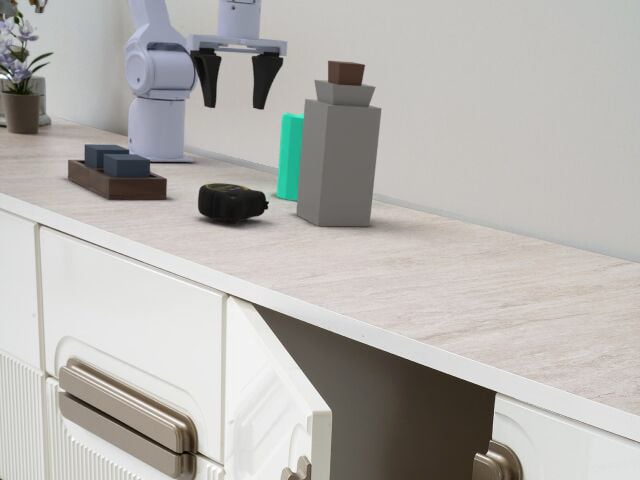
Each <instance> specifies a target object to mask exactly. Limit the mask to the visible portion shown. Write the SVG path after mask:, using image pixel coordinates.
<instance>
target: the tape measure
mask: <svg viewBox="0 0 640 480" xmlns="http://www.w3.org/2000/svg"><path fill="white" fill-rule="evenodd" d="M269 203H270V201H269V200H267V197H266V194H265V192H263V191H262V190H261V191H260V190H254V189H251V188H249V187H246V186H244V185H239V184H235V183H234V184H232V183H222V182H213V183H206V184H203V185H201V186H200V187H199V190H198V196H197V209H198V212H199V213H200V214H201V215H202V216H204V217H207V218H209V219H210V220H224V221H230V222H232V223H235V224H238V223H240V222H241V221H242V220H247V219H251V218H256V217H257V218H258V217H260V216H262V215H263V214H264V213H265V210H266V211H268V210H269Z"/></svg>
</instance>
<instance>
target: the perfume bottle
mask: <svg viewBox="0 0 640 480" xmlns="http://www.w3.org/2000/svg"><path fill="white" fill-rule="evenodd" d="M365 68H366V64H364V63H358V62H353V61H341V60H327V80H325V79H324V80H323V79H313V81H314V86H315V94H316V98H317V99H311V98H310V99H309V98H305V99H304V107H303V114H304V120H303V133H302V146H301V159H300V173H299V186H298V199H297V201H296V212H295V213H296V214H295V215H296V216H298V217H300V218H302V219H303V220H306V221H307V222H308V223H311V224H313V225H315V226H316V227H370V226H371V225H370V224H371V217H372V216H371V215H372V206H373V196H374V186H375V176H376V165H377V157H378V147H379V138H380V129H381V128H380V127H381V116H382V107H377V106H374V105H370V104H371V102H372V99H373V96H374V93H375V90H376V86H374V85H368V84H364V83H363V79H364V74H365V70H366V69H365Z"/></svg>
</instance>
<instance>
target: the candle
mask: <svg viewBox="0 0 640 480" xmlns="http://www.w3.org/2000/svg"><path fill="white" fill-rule="evenodd" d="M303 120H304V113H302V114H293V113H290V112H285V113H283V114H282V115H281V123H280V124H281V125H280V140H279V153H278V168H277V180H276V181H277V183H276V196H277V198H280V199H282V200H287V201H288V200H289V201H296V202H297V199H298V186H299V173H300V159H301V146H302V133H303Z"/></svg>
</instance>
